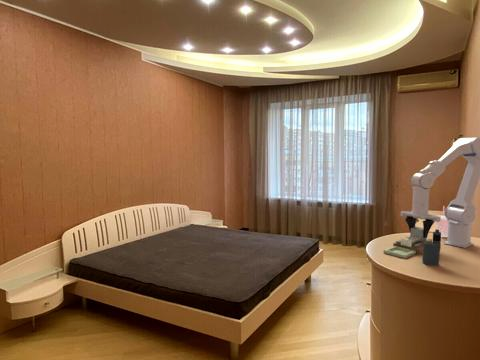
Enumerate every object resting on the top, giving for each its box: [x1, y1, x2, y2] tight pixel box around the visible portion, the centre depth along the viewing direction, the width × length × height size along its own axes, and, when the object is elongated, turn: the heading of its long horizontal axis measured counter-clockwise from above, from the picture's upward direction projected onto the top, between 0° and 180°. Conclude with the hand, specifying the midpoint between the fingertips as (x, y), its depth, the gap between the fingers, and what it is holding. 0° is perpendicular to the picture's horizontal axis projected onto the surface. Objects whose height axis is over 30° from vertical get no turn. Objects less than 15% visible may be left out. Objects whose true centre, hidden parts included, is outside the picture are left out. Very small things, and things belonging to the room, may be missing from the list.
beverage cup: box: [435, 205, 449, 238], centre depth 146 cm, size 6×6×14 cm
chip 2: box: [406, 234, 421, 244], centre depth 129 cm, size 4×4×2 cm
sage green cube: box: [410, 226, 428, 242], centre depth 131 cm, size 4×4×5 cm
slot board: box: [392, 238, 433, 255], centre depth 129 cm, size 14×10×3 cm, turn 128°
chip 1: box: [400, 236, 416, 247], centre depth 126 cm, size 4×4×2 cm
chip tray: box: [383, 245, 417, 259], centre depth 122 cm, size 9×8×1 cm
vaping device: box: [421, 228, 442, 266], centre depth 110 cm, size 3×5×12 cm, turn 79°
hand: (418, 236), depth 131 cm, fingers closed on sage green cube, 4 cm apart
